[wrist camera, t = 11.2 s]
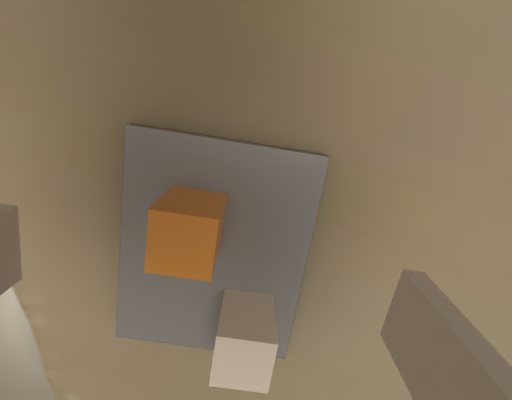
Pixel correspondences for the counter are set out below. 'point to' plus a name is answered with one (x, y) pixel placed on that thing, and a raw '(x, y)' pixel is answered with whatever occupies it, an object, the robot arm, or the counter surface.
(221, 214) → the orange rectangular block
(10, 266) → the robot arm
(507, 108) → the counter surface
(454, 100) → the counter surface
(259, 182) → the plate
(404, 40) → the counter surface
